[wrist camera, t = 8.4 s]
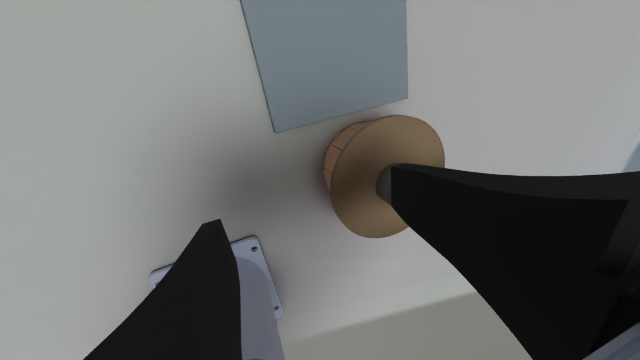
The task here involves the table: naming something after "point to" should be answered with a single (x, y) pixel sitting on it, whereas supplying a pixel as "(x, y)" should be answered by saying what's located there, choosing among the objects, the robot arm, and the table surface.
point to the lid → (379, 172)
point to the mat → (327, 56)
